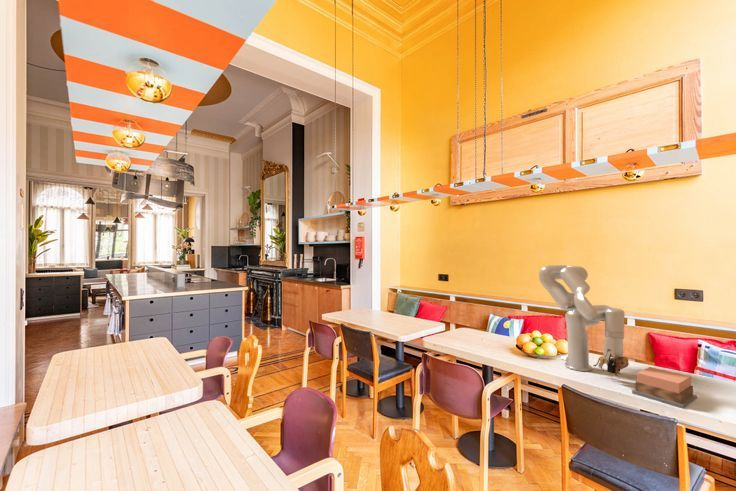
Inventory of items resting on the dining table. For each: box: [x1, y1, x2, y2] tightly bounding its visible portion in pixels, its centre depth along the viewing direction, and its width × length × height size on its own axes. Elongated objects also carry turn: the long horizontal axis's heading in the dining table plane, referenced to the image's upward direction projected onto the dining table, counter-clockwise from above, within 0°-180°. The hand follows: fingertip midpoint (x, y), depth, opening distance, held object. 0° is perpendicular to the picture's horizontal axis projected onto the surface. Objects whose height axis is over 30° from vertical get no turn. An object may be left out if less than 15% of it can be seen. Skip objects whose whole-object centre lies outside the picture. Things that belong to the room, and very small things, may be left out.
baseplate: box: [631, 388, 698, 409], centre depth 144 cm, size 17×17×1 cm
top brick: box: [636, 366, 692, 393], centre depth 144 cm, size 14×14×4 cm
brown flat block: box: [635, 381, 694, 404], centre depth 144 cm, size 15×15×4 cm
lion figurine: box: [592, 355, 630, 376], centre depth 162 cm, size 15×5×9 cm, turn 36°
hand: (613, 371), depth 161 cm, fingers closed on lion figurine, 4 cm apart
